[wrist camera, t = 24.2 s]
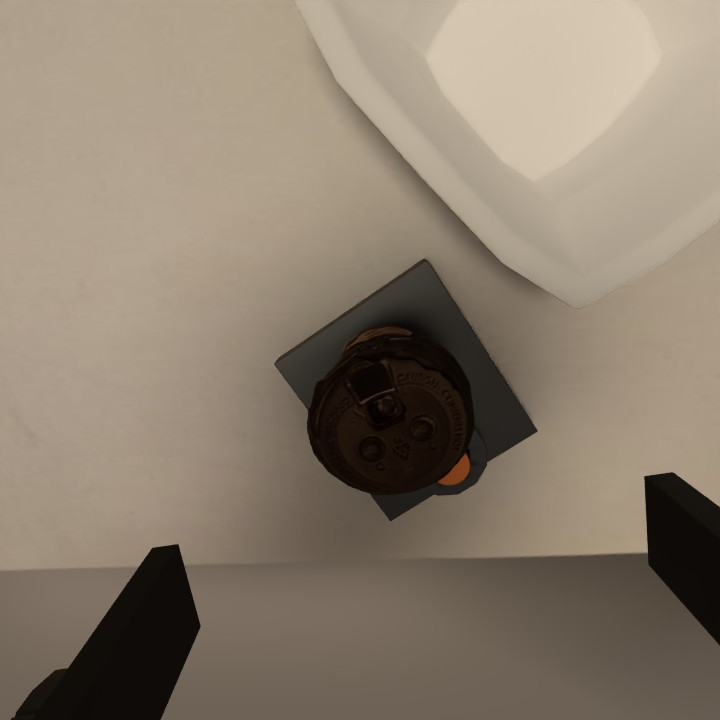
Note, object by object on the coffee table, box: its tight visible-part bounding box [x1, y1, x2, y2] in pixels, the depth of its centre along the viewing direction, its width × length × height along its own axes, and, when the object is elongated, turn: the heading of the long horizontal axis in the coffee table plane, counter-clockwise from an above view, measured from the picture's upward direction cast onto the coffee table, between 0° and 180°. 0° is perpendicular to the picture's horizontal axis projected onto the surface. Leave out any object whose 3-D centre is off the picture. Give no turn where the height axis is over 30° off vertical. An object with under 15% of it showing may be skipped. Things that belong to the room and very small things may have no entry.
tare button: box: [438, 452, 470, 485], centre depth 36 cm, size 3×3×2 cm
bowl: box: [293, 0, 720, 309], centre depth 29 cm, size 24×25×10 cm
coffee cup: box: [307, 325, 474, 495], centre depth 30 cm, size 9×8×13 cm
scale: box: [274, 259, 537, 521], centre depth 37 cm, size 15×13×4 cm
